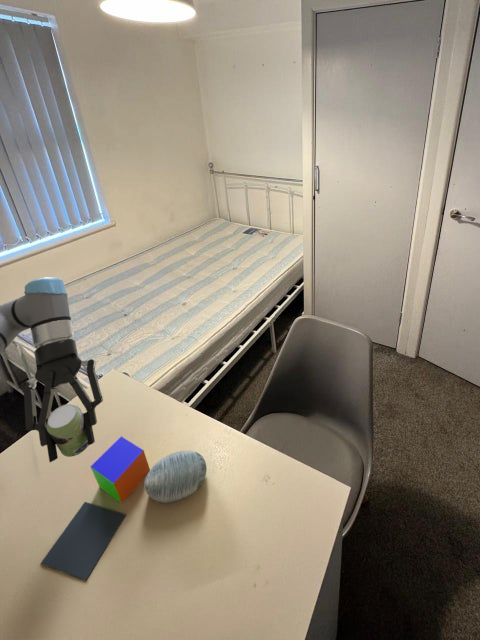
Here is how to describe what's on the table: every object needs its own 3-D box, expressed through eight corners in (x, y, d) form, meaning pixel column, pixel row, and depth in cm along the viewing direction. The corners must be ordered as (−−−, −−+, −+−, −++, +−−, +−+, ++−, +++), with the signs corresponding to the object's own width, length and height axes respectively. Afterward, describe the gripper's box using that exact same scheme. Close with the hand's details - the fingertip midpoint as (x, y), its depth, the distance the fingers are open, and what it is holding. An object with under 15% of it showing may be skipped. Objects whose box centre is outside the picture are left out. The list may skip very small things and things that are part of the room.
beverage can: (89, 427, 76) (74, 391, 71) (99, 449, 71) (83, 412, 66) (57, 445, 72) (39, 409, 67) (65, 470, 67) (46, 433, 62)
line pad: (40, 564, 65) (40, 563, 65) (85, 502, 74) (84, 501, 74) (86, 580, 62) (85, 580, 62) (126, 515, 72) (125, 514, 72)
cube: (128, 456, 84) (121, 436, 81) (150, 470, 81) (143, 450, 77) (99, 486, 77) (90, 466, 74) (121, 503, 74) (113, 483, 71)
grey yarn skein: (210, 445, 83) (195, 442, 75) (214, 490, 78) (197, 492, 69) (159, 461, 83) (138, 460, 75) (159, 507, 77) (136, 512, 69)
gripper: (105, 331, 81) (125, 427, 75) (8, 361, 72) (22, 472, 66) (100, 327, 74) (121, 431, 68) (-7, 358, 65) (7, 481, 59)
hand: (73, 451), depth 67 cm, fingers closed on beverage can, 6 cm apart
